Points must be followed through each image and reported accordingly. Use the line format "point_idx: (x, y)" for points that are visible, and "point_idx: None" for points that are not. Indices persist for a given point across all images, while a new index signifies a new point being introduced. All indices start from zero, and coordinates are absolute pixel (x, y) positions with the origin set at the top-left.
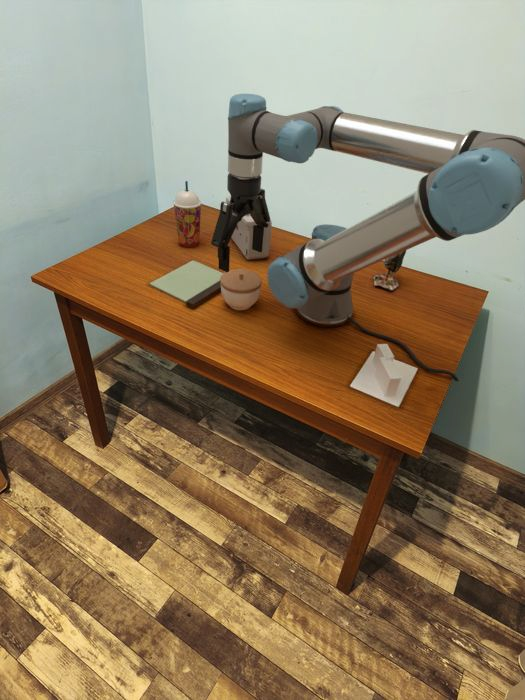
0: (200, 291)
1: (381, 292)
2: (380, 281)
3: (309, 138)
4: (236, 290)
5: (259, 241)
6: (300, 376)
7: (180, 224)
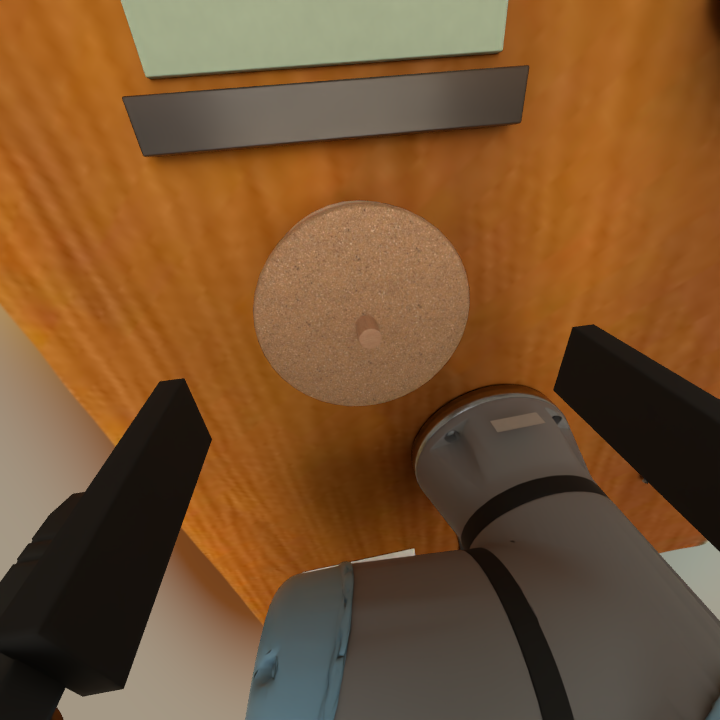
0: (270, 52)
1: (631, 468)
2: None
3: None
4: (277, 372)
5: (617, 437)
6: (249, 533)
7: None
